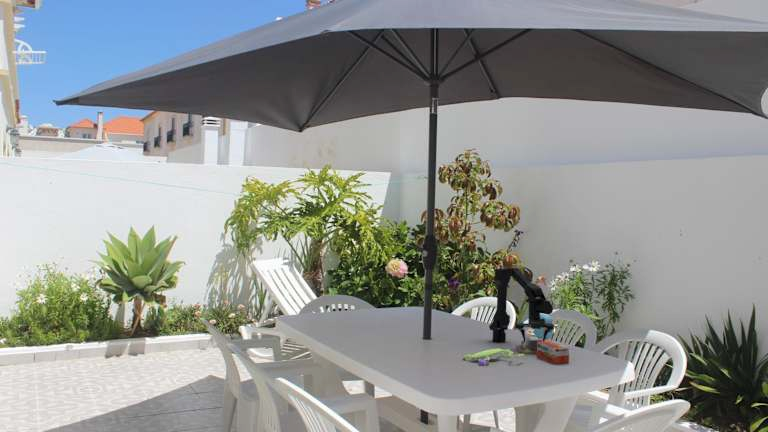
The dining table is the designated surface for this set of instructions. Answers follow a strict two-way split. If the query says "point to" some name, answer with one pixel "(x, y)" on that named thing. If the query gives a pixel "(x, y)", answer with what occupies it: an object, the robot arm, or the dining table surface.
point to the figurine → (489, 353)
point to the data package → (540, 331)
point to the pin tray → (524, 349)
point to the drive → (532, 343)
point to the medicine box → (552, 352)
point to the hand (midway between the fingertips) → (534, 342)
